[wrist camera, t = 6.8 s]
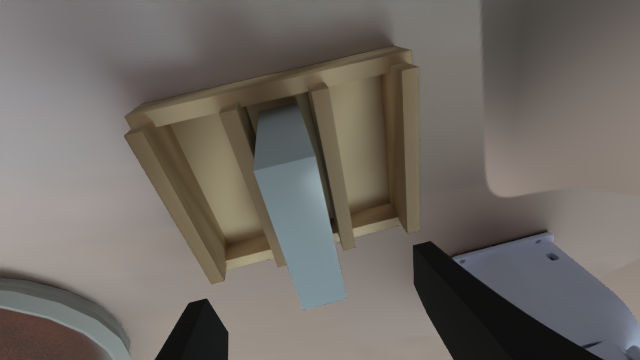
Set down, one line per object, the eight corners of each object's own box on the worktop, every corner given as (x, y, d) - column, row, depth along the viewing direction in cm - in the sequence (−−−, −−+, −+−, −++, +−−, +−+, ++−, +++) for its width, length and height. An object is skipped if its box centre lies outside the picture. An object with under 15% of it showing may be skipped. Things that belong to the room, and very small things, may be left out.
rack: (394, 45, 16) (425, 53, 13) (401, 203, 22) (424, 235, 18) (142, 103, 15) (110, 126, 12) (218, 250, 21) (209, 290, 18)
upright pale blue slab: (297, 102, 16) (315, 155, 10) (323, 213, 20) (347, 298, 14) (258, 111, 16) (253, 170, 10) (293, 221, 20) (303, 310, 14)
